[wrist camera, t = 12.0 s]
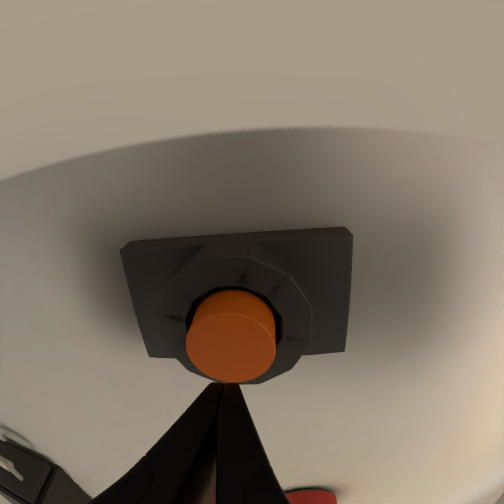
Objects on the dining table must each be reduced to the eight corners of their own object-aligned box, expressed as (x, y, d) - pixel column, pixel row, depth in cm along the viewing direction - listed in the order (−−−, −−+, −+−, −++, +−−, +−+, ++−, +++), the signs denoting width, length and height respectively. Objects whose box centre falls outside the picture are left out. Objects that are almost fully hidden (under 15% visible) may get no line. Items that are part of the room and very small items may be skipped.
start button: (201, 355, 13) (194, 382, 11) (188, 290, 11) (177, 314, 10) (276, 353, 12) (277, 381, 11) (272, 286, 11) (273, 310, 10)
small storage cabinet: (5, 440, 25) (-18, 478, 17) (59, 466, 25) (37, 513, 17) (44, 482, 30) (28, 516, 21) (97, 504, 29) (83, 543, 21)
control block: (155, 344, 16) (138, 380, 13) (129, 239, 14) (99, 263, 11) (340, 338, 15) (352, 376, 12) (345, 225, 13) (367, 248, 10)
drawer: (-15, 421, 22) (-36, 451, 16) (32, 445, 22) (10, 484, 16) (37, 479, 28) (23, 507, 21) (85, 500, 27) (72, 532, 21)
